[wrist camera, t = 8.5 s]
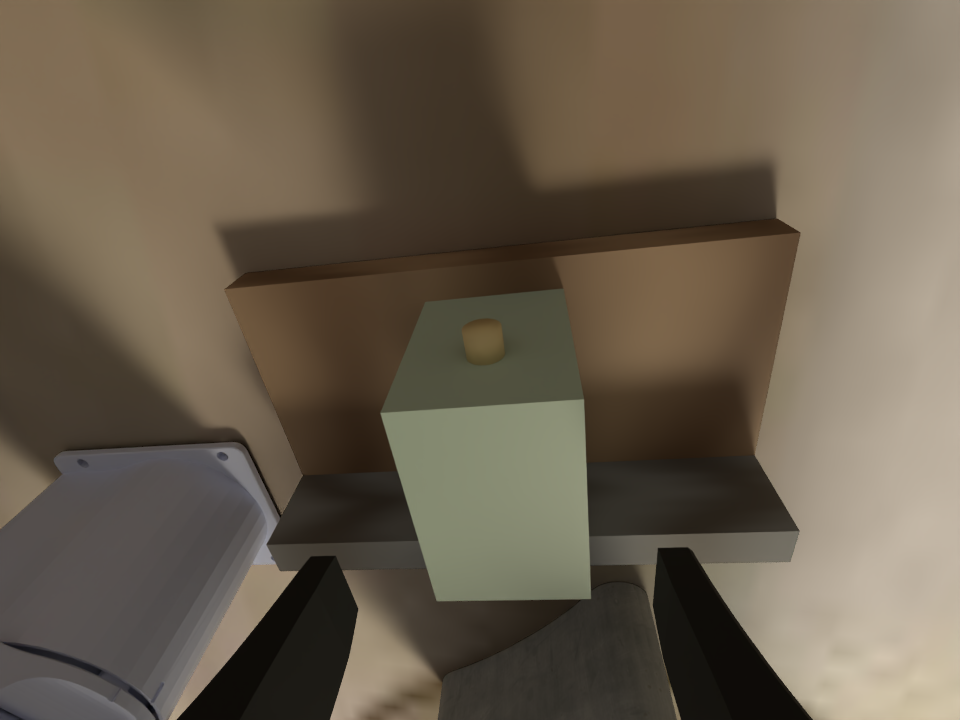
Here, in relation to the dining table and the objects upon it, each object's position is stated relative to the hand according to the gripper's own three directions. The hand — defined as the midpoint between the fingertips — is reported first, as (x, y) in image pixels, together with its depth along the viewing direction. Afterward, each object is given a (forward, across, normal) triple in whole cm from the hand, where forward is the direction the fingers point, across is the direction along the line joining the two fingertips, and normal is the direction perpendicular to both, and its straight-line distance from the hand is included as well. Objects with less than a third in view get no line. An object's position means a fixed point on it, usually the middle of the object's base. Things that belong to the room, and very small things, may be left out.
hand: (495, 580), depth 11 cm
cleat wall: (+9, 0, +1) cm, 9 cm away
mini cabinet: (+8, 0, 0) cm, 8 cm away
